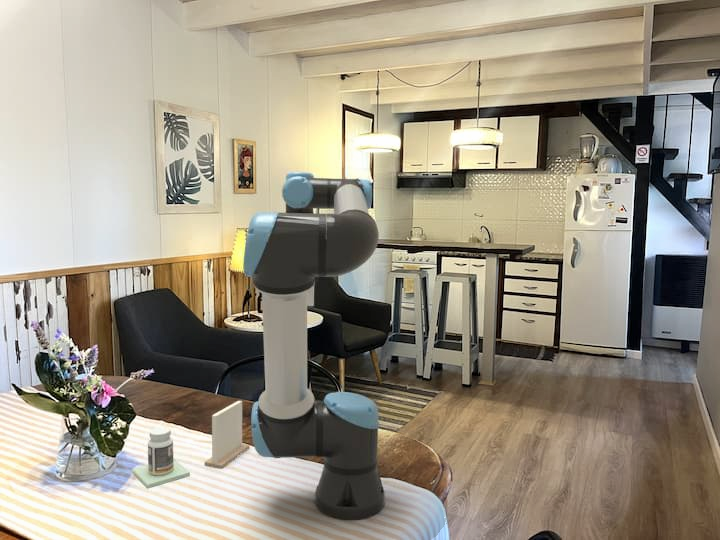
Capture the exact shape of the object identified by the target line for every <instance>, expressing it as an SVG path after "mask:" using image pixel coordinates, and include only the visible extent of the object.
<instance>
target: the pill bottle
mask: <svg viewBox="0 0 720 540" xmlns="http://www.w3.org/2000/svg"><path fill="white" fill-rule="evenodd" d="M171 432H172V431H171V428H170V427H167V426H160V427H155V428H153V429H150V431H149V437H150V439H149V441H148V443H147V461H148V462H147V463H148V464H147V465H148V470H149V473H150V474H152V475H164V474H167V473H169V472H171V471H172V470H173V467H174V463H173V458H174V440H173V438H172V437H171V435H172V433H171Z"/></svg>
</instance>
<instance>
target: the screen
mask: <svg viewBox="0 0 720 540" xmlns="http://www.w3.org/2000/svg"><path fill="white" fill-rule="evenodd" d="M211 437H212V438H211V441H212V442H211V447H212V448H211V455H212V456H211V457H210V458H208V459H207V460H205V461H204V462H203V463H204V466H207V467H211V466H213V467H212V468H216V467H217V469H221V468H222V469H223V468H225V467H226V466H228V465H229V464H230V463H232V462H233V461H235V460H236V459H235V458H236V457H237V456H238V455H240V454H241V453H242V454H244V453H245V452H246V451H248V450H249V449H250V445H249V444H243V401H242V400H237V401H235V402H233V403H231V404H230V405H228V406H226V407H225V408H223V409H221V410H219V411H217V412H215V413H214V414H212V415H211ZM247 449H248V450H247ZM244 451H245V452H244ZM243 452H244V453H243ZM242 454H241V455H242ZM241 455H240V456H241ZM238 457H239V456H238ZM238 457H237V458H238ZM232 460H233V461H232ZM228 463H229V464H228Z"/></svg>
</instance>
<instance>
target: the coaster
mask: <svg viewBox="0 0 720 540" xmlns="http://www.w3.org/2000/svg"><path fill="white" fill-rule="evenodd" d="M173 463H174V467H173V470H172V471H171V472H169V473H167V474H164V475H152V474H150V473H149V470H148V464H146V465H141V466H138V467H135V468H132V469H131V472H132V474H134V476H135V477H136V479H138V480H139V481H140V482H141V484H143V485H144V486H145V487H146V488H147V489H150V488H153V487H156V486H160V485H163V484H165V483H170V482H173V481H176V480H179V479H183V478H187V477H189V476H190V475H191V473H190V471H189V470H188V469H187V468H186V467H184V466H183V465H182V464H181V463H180V462H179V461H177V460H176V459H175V458H174V457H173Z"/></svg>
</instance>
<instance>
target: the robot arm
mask: <svg viewBox="0 0 720 540" xmlns="http://www.w3.org/2000/svg"><path fill="white" fill-rule="evenodd" d="M281 197H282V198H283V201H284V203H285V212H279V211H275V212H258V213H256V214H254V215H253V216H252V217H251V219H250V222H249V224H248V228H247V233H246V239H245V245H244V253H243V266H242V267H243V269H242V270H243V275H244V276H247V277H248V278H251V277H252V283H253V287H254V289H256V290H257V291H258V292H259V293H261V300H262V301H261V302H262V303H261V304H262V306H261V307H262V331H263V334H262V335H263V356H264V357H263V358H264V359H263V360H264V361H263V362H264V382H265V384H264V387H265V388H264V389H265V390H264V391H262V393H261V394H260V395H259V398H258V401H254V403H253V405H252V408H251V409H252V410H251V414H250V415H251V419H250V420H251V421H250V424H251V437H252V442H253V446H254V449H255V451H256V453H257V455H259V456H260V457H263V458H274V459H283V458H286V459H288V458H290V459H291V458H323V469H322V472H321V475H320V478H319V482H318V484H317V485H316V488H315V493H314V494H315V495H314V497H315V498H314V502H315V503H314V504H315V506H316V507H317V509H318V510H319V511H320V512H321V513H323V514H325V515H327V516H329V517H333V518H336V519H341V520H359V519H366V518H368V517H372V516H374V515H376V514H378V513H379V512H380V511H381V510H382V509H383V508H384V506H385V496H386V495H385V489H384V486H383V483H382V479H381V476H380V472H379V469H378V454H379V453H378V451H379V450H378V449H379V448H378V447H379V445H378V444H379V436H378V435H379V427H380V422H379V409H378V406H377V404H376V403H375V402H374V401H373V400H372V399H370V398H369V397H367V396H365V395H363V394H359V393H355V392H349V391H335V392H330V393H328V394H326V395H325V397H324V399H323V400H322V401H320V400H319V401H318V400H315V396H314V394H313V392H312V390H310V389H309V388H308V307H314V306H315V285H316V284H315V283H318V281H319V277H323V278H327V277H329V278H330V277H333V278H334V277H339V276H343V275H346V274H349V273H351V272H353V271H355V270H357V269H359V268H360V267H361V266H362V265H364V264H365V263H366V262H367V261H368V260H369V259H370V258H371V257H372V256H373V254H374V252H376V249H377V247H378V243H379V237H380V235H379V229H378V226H377V223H376V220H375V219H374V217H372V215H370V213H369V209H371V208H372V207H371V206H372V201H373V183H372V182H371V180H368V179H363V178H362V179H361V178H358V177H357V178H327V177H326V178H325V177H324V178H323V177H322V178H321V177H314V174H313V173H311V172H305V171H303V172H302V171H290V172H288V173H286V175H285V182H284V184H283V185H282V189H281ZM314 209H322V210H323V209H326V210H327V209H328V210H333V213H314Z"/></svg>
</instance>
